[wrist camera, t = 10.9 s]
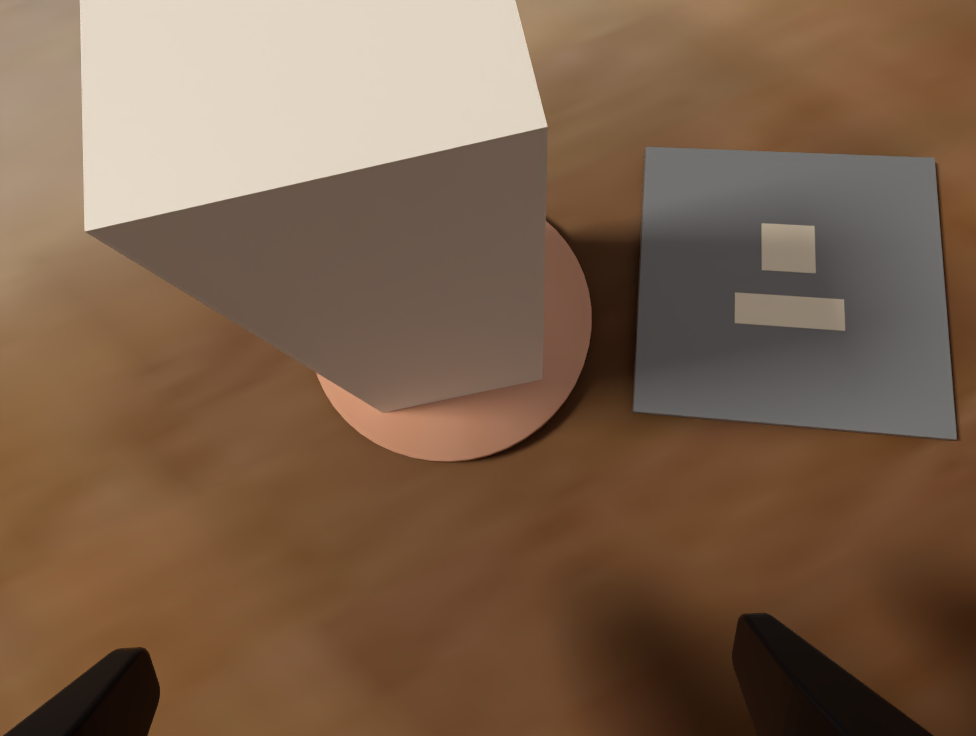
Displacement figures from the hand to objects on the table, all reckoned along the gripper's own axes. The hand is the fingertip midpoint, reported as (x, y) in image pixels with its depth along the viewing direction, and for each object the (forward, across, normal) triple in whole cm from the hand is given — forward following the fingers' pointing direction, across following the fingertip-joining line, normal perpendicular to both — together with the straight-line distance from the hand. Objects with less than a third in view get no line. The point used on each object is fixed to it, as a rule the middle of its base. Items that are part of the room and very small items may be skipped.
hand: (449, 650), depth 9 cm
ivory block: (+11, 0, -2) cm, 11 cm away
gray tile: (+11, -10, -3) cm, 15 cm away
